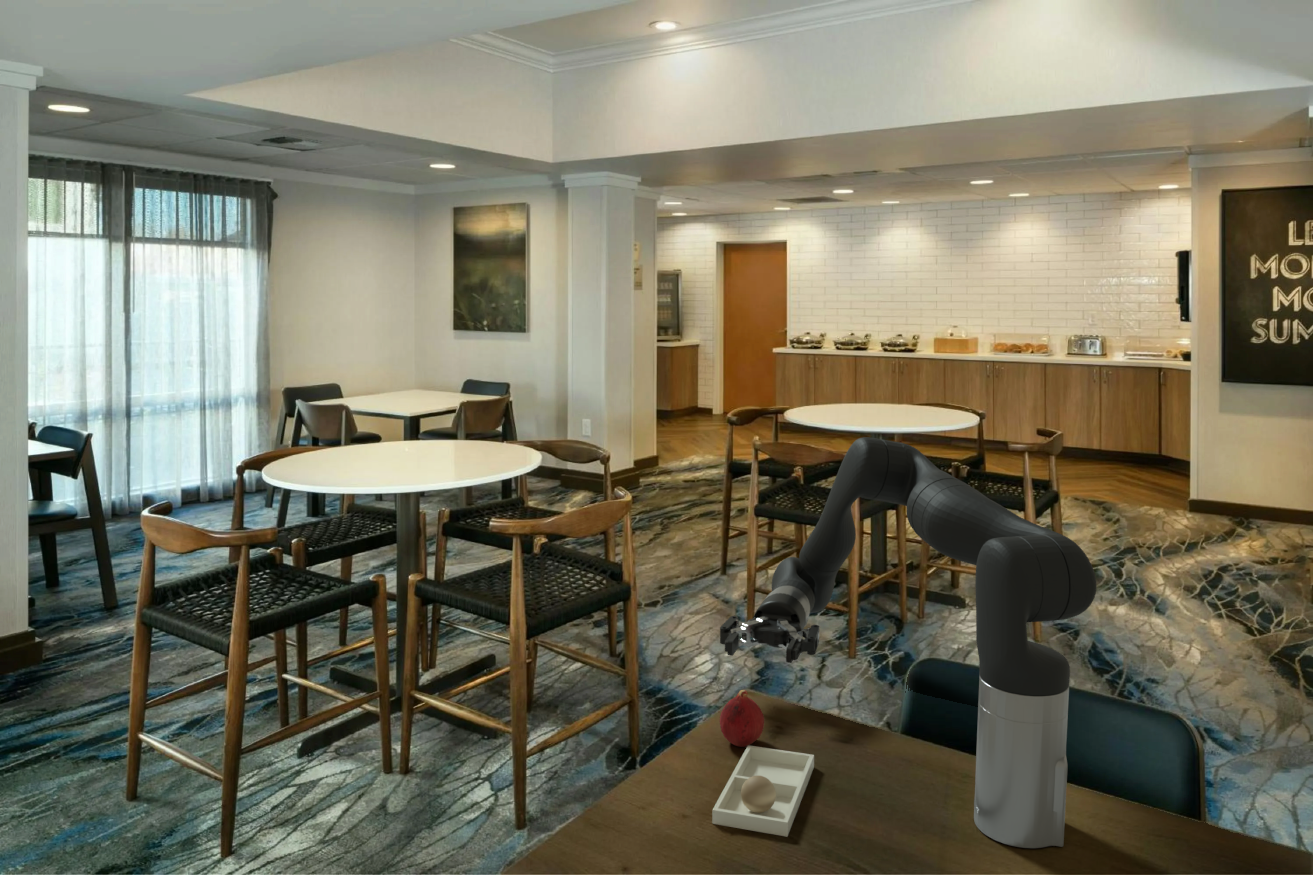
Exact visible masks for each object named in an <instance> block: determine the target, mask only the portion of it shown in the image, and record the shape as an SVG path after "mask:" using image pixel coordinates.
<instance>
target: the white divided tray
mask: <svg viewBox="0 0 1313 875" xmlns="http://www.w3.org/2000/svg"><path fill="white" fill-rule="evenodd" d="M745 748H746V749H745V750H744V752H743V753H742V755H741V756H740V759H739V761H738V763H737V764H736V766H735V768H734V770H733V771H732V773H731V775H730V777H729V779H728V780H727V782H726V784H725V787H724V788H723V790H722V792H721V793H720V795H719V797H718V799H717V801H716V802H715V805H714V807H713V808H712V813H711V816H712V818H711V819H712V820H711V823H712V824H714V825H717V826H718V825H719V826H724V827H731V828H737V829H741V830H748V831H753V832H758V833H764V834H770V835H776V836H782V837H787V838H788V836H789V834H790V831H791V828H792V826H793V823H794V820H795V818H796V816H797V813H798V811H799V808H800V805H801V803H802V802H801V801H802V799H803V798H804V795H805V792H806V790H807V787H808V784H809V782H810V779H811V776H812V774H813V770H814V768H815V754H811V753H810V754H809V753H803V752H797V751H789V750H782V749H777V748H769V747H764V746H763V747H762V746H755V745H748V746H746V747H745ZM752 776H763V777H766V778H767V779H769V780H770V781H771V782H772V784H773V785H774V787H775V791H776V799H775V802H774V804H773V806H772V807H771V808H770V809H769V810H767V811H765V812H762V813H756V812H753V811H750V810H749V809H748V808H747V807H746V806H745V805H744V803H743V801H742V799H741V788H742V786H743V784H744V782H745V781H746V780H747V779H748V778H750V777H752Z"/></svg>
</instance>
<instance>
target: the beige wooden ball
mask: <svg viewBox="0 0 1313 875" xmlns="http://www.w3.org/2000/svg"><path fill="white" fill-rule="evenodd" d="M741 799H742V801H743V803H744V805H745V806H746V807H747V808H748V809H749V810H750V811H753V812H756V813H762V812H765V811H767V810H769V809H770V808H771V807H772V806H773V804H774V802H775V799H776V791H775V787H774V785H773V784H772V782H771V781H770V780H769V779H767V778H766V777H763V776H752V777H750V778H748V779H747V780H746V781H745V782H744V784H743V786H742V788H741Z"/></svg>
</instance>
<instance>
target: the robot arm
mask: <svg viewBox="0 0 1313 875" xmlns="http://www.w3.org/2000/svg"><path fill="white" fill-rule="evenodd" d="M860 498H861V499H866V500H872V501H878V502H883V503H889V504H894V505H895V504H896V505H902V506H905V507H906V517H907V521H908V524H909V525H910V528H911V529H912V530H913V532H914V533H915V534H916V535H917V536H918V537H919V538H920V539H921V540H923V542H925V543H926V544H927V545H929V546H930V547H931V548H932V549H933V550H935V551H937V552H938V553H940V554H942V555H944V556H946V557H948V558H949V559H953V560H956V561H959V562H963V563H967V564H970V565H974V566H975V585H974V586H975V610H976V611H975V616H976V618H975V619H976V624H975V625H976V626H975V628H976V629H975V631H976V632H975V633H976V634H975V636H976V637H975V638H976V640H975V641H976V649H977V655H978V663H979V669H978V670H979V679H978V680H979V681H978V703H977V706H978V707H977V730H976V754H975V755H976V756H975V777H974V778H975V782H974V798H973V809H974V810H973V820H974V824H975V826H976V827H977V829H978V830H979V831H981V833H982V834H984V835H985V836H987V837H989V838H991V839H992V840H994V841H996V842H999V843H1002V844H1004V845H1008V846H1012V847H1017V848H1022V849H1041V848H1047V847H1052V846H1053V847H1055V846H1056V847H1064V842H1065V841H1064V840H1065V839H1064V838H1065V824H1066V821H1065V820H1066V803H1067V802H1066V800H1067V787H1068V786H1067V785H1068V784H1067V781H1068V760H1067V740H1068V739H1067V738H1068V721H1069V720H1068V719H1069V718H1068V715H1069V696H1070V682H1071V680H1070V678H1071V667H1070V663H1069V661H1068V659H1067V657H1066V656H1065V655H1063V654H1062V653H1060V652H1059V651H1057V650H1055V649H1053V648H1052V647H1049V646H1047V645H1044V644H1041V643H1037V642H1034V641H1031V640H1029V639H1028V633H1027V632H1028V631H1027V625H1028V623H1040V622H1041V623H1042V622H1051V621H1052V622H1053V621H1055V622H1056V621H1063V620H1068V619H1071V618H1074V617H1077V616H1079V615H1081V614H1083V613H1084V612H1085V611H1087V610H1088V609H1089V607H1090V606H1092V604H1093V602H1094V600H1095V597H1096V593H1097V578H1096V573H1095V570H1094V567H1093V565H1092V563H1091V561H1090V559H1089V557H1088V556H1087V554H1086V553H1085V551H1084V550H1083V549H1082V547H1080V546H1079V545H1078V544H1077V542H1075V541H1074V540H1072V539H1071V538H1069V537H1068V536H1065V535H1063V534H1061V533H1059V532H1056V531H1054V530H1051V529H1049V528H1046V527H1044V526H1042V525H1039V524H1037V523H1034V522H1031V521H1030V520H1027V519H1025V518H1024V517H1021V516H1019V515H1017V514H1016V513H1014V512H1013V511H1011V510H1009V509H1008V508H1006V507H1004V506H1003V505H1001V504H1000V503H997V502H996V501H995V500H992V499H991V498H988V496H986V495H984V494H983V493H981V491H979V490H978V489H976V488H974V487H972V486H970V485H969V484H967V483H966V482H964V481H963V480H961V479H958V478H956V477H954V476H953V475H951V474H949V473H948V472H946V471H943V470H941V469H939V467H937V466H936V465H935V464H934V463H933V462H932V461H931V460H929V458H927V456H926V455H925V454H924V453H922V452H921V451H920V450H918V448H916V447H915V446H912V445H909V444H907V443H904V442H899V441H893V440H889V439H888V440H886V439H882V438H876V437H868V436H867V437H866V436H865V437H859V438H857V439H855V441H853V443H851V445H850V446H849V448H848V450H846V453H845V455H844V457H843V460H842V461H841V463H840V466H839V469H838V471H837V473H836V476H835V479H834V481H833V483H832V486H831V489H830V492H829V493H828V496H827V499H826V502H825V504H824V508H823V510H822V513H821V515H820V517H819V519H818V521H817V523H816V525H815V527H814V528H813V529H812V531H811V532H810V534H809V536H808V538H807V539H806V541H805V542H804V544H803V546H802V547H801V549H800V552H799V555H798V556H799V557H796V556H789V557H787V558H784V559H783V560H781V561H780V563H779V564H778V565H777V566H776V568H775V570H774V572H773V574H772V579H771V592H769V593H768V594H767V596H766V597H765V598H764V599H763V601H762V602H761V604H760V605H759V606H758V608H756V610H755V613H754V615H753V617H752V618H750V619H748V620H747V621H740V620H739V617H738V616H737V615H731V616H730V617H729V618H727V620H725V621H724V623H722V625H721V626H720V627H719V643H720V645H724V652H727V656H734V655H735V654H736V651H737V650H738V649H739V647H742V646H743V647H744V646H745V647H747V648H750V647H751V648H752V647H755V646H758V645H767V646H769V647H772V648H775V649H777V648H778V649H779V648H780V649H784V650H785V652H786V655H785V662H786V663H787V664H788V663H789V664H792V663H793V661H796V660H799V659H798V658H800V656H801V655H803V653H805V652H806V653H807V655H809V656H814V655H816V652H817V649H818V646H819V644H820V625H819V624H812V625H811V626H810V627H807V628H805V627H806V626H807V625H808V621H809V616H810V614H815V613H819V612H821V611H823V610H824V609H825V608H826V607H827V606H828V604H829V603H830V601H831V599H832V596H833V592H834V588H835V583H836V578H837V574H838V572H839V570H840V568H842V566H843V564H844V563H845V561H846V560H847V558H849V556H850V554H851V552H852V551H853V549H854V546H855V543H856V536H857V535H856V534H857V532H856V526H855V522H854V518H853V513H852V505H853V504H854V503H855V501H857V499H860ZM739 635H741V638H740V637H739ZM739 638H740V639H739ZM751 638H752V639H751Z"/></svg>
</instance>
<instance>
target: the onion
mask: <svg viewBox="0 0 1313 875" xmlns="http://www.w3.org/2000/svg"><path fill="white" fill-rule="evenodd" d="M748 695H749V693H748V691H747V690H746V689H741V690H739V692H737V694H736V696H735V697H733V698H731V699H730V700H728V702H727V703H726V704H725V705H724V706H723V709H721V712H720V716H719V725H720V730H721V733H722V735H723V737H724V738H725V739H726V741H728V742H729V743H730V744H732V745H734V746H736V747H739V748H740V747H741V748H746V747H747V746H748V745H749V746H751V745H752V744H753V743H754V742H755V741H757V740H758V739H759V738H760V737H761V736H762V734H763V730H764V726H765V716H764V714H763V711H762V708H760V706H759V705H758V704H757V702H755V700H753V699H752V698H750V697H749V696H748Z"/></svg>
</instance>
